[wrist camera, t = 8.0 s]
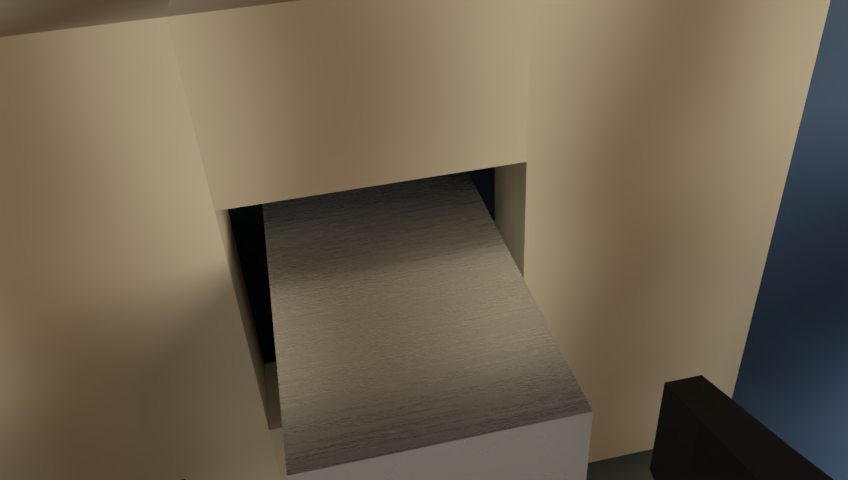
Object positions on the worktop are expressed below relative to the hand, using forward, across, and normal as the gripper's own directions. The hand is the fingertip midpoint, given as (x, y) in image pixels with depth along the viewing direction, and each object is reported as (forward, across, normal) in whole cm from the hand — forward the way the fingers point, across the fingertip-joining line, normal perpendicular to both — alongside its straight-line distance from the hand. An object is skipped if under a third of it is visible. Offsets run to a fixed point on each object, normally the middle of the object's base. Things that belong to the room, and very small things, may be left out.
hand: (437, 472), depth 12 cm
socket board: (+6, 0, 0) cm, 6 cm away
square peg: (+6, 0, 0) cm, 6 cm away
